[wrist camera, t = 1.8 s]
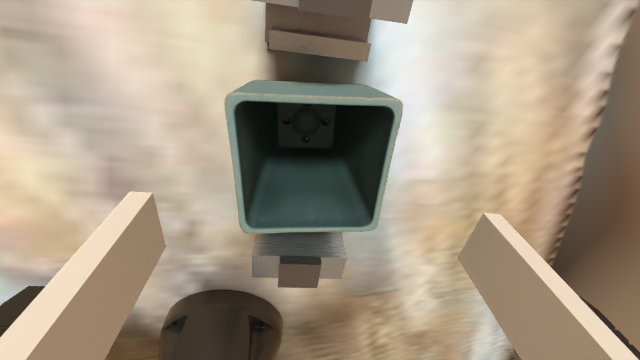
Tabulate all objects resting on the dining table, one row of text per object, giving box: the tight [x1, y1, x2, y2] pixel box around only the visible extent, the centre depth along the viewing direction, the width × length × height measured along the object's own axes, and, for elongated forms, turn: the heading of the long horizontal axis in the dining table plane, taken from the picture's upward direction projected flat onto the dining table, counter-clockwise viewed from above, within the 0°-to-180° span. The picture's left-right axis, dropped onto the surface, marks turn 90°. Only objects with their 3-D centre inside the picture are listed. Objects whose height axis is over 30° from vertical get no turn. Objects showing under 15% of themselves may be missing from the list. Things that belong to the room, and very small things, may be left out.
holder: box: [252, 0, 413, 288], centre depth 19 cm, size 23×7×9 cm, turn 173°
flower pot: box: [225, 80, 403, 234], centre depth 19 cm, size 9×9×9 cm
